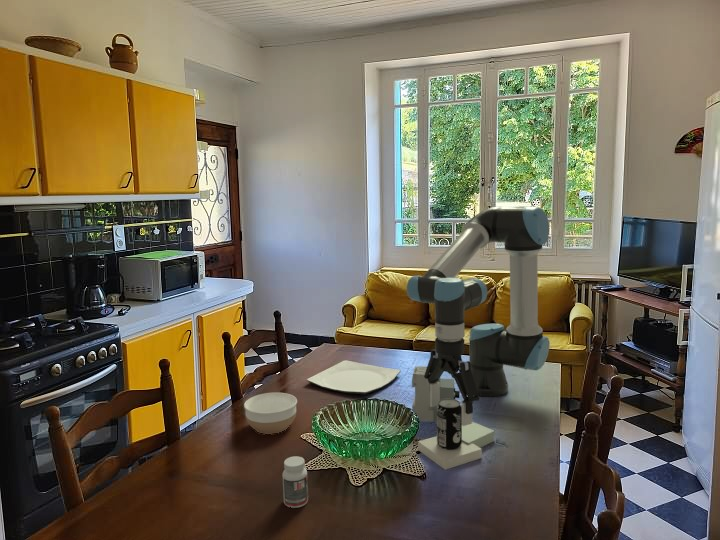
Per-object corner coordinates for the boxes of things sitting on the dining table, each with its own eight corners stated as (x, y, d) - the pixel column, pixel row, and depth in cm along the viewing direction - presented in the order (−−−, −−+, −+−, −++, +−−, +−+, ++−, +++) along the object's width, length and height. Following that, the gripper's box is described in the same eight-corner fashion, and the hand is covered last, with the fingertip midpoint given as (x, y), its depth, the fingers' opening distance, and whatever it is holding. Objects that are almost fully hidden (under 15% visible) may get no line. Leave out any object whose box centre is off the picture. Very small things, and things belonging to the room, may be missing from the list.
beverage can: (463, 441, 144) (463, 399, 142) (459, 452, 137) (459, 408, 136) (439, 437, 146) (439, 396, 144) (434, 448, 140) (434, 405, 138)
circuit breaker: (459, 423, 160) (459, 376, 158) (412, 420, 163) (411, 373, 161) (459, 413, 168) (459, 368, 165) (414, 410, 170) (414, 366, 168)
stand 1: (453, 439, 150) (453, 431, 150) (481, 457, 139) (481, 448, 139) (418, 450, 144) (418, 441, 144) (445, 469, 134) (445, 460, 133)
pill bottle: (312, 503, 121) (311, 462, 119) (290, 512, 118) (288, 470, 116) (301, 491, 125) (299, 452, 124) (279, 499, 122) (277, 459, 121)
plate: (405, 376, 203) (405, 369, 203) (367, 401, 179) (367, 394, 179) (344, 364, 218) (344, 358, 218) (301, 387, 195) (301, 380, 194)
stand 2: (464, 427, 157) (464, 418, 157) (494, 440, 149) (494, 430, 148) (438, 439, 150) (438, 429, 150) (468, 453, 142) (468, 442, 141)
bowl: (234, 428, 161) (233, 403, 160) (276, 411, 172) (275, 388, 171) (266, 444, 150) (265, 417, 149) (309, 425, 161) (308, 400, 160)
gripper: (411, 329, 146) (412, 401, 150) (469, 353, 125) (469, 436, 128) (433, 325, 150) (434, 395, 153) (493, 347, 128) (493, 429, 131)
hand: (450, 414), depth 141 cm, fingers open, 13 cm apart
